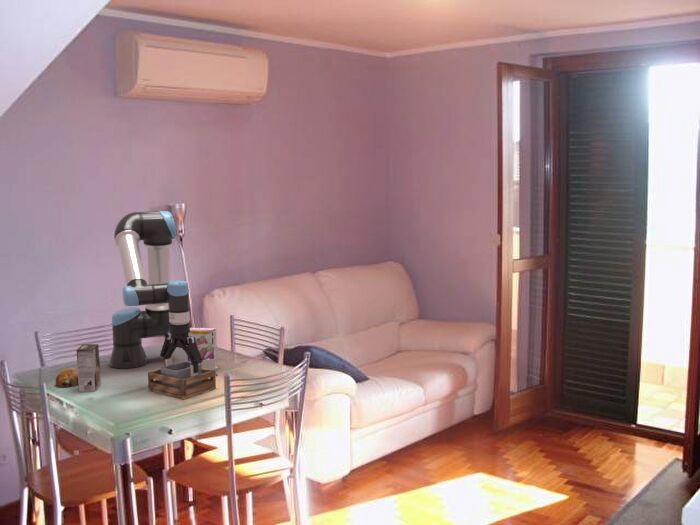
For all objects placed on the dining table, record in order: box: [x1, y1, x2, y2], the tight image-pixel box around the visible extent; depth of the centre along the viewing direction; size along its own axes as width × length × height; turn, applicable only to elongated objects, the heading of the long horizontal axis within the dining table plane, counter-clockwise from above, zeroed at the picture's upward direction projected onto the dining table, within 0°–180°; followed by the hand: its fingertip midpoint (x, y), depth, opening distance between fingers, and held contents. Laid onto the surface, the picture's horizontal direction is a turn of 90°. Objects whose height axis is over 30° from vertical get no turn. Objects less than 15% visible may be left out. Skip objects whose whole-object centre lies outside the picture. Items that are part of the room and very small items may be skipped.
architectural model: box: [201, 358, 219, 377], centre depth 311 cm, size 3×7×7 cm, turn 113°
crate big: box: [147, 368, 217, 400], centre depth 293 cm, size 19×16×7 cm
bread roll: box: [55, 367, 79, 388], centre depth 302 cm, size 10×10×8 cm
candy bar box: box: [187, 327, 218, 367], centre depth 322 cm, size 11×5×16 cm, turn 84°
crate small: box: [160, 360, 202, 389], centre depth 292 cm, size 9×12×8 cm
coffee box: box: [76, 343, 102, 393], centre depth 295 cm, size 9×6×16 cm
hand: (181, 378), depth 293 cm, fingers open, 13 cm apart
